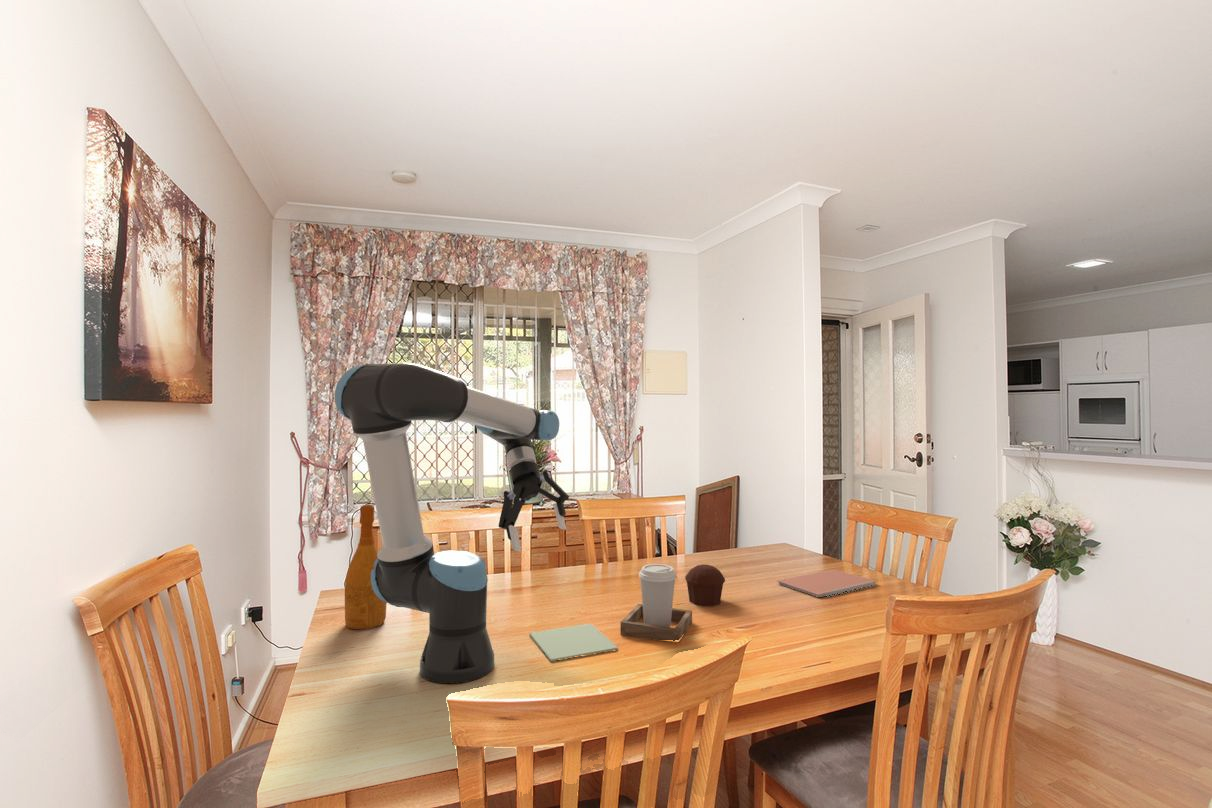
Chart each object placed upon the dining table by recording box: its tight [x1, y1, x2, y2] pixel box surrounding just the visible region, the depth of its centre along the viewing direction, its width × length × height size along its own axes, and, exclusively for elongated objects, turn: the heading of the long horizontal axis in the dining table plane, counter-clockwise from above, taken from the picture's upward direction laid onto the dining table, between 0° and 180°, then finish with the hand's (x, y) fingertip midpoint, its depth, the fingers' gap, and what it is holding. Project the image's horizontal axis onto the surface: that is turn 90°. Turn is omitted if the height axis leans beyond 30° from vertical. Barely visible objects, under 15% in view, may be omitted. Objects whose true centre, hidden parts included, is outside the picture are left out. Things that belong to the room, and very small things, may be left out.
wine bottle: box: [344, 504, 388, 630], centre depth 146 cm, size 10×10×30 cm
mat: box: [529, 623, 619, 662], centre depth 135 cm, size 16×16×1 cm
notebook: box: [776, 568, 877, 598], centre depth 182 cm, size 27×17×2 cm, turn 121°
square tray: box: [619, 603, 693, 641], centre depth 145 cm, size 14×14×3 cm
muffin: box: [684, 564, 726, 607], centre depth 165 cm, size 12×11×10 cm
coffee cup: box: [638, 563, 678, 627], centre depth 145 cm, size 10×10×15 cm
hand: (539, 539), depth 145 cm, fingers open, 13 cm apart
